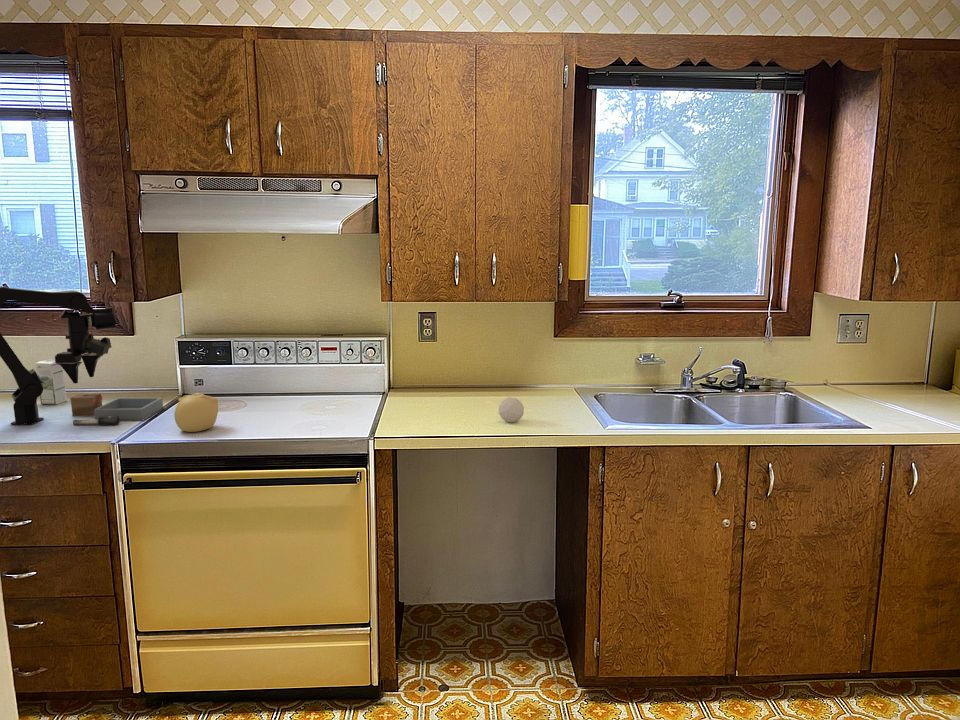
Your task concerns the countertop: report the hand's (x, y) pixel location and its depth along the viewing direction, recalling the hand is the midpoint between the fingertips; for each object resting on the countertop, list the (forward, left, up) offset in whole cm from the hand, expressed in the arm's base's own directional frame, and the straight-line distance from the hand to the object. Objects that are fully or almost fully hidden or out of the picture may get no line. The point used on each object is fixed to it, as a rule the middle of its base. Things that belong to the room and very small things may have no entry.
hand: (83, 380), depth 222 cm
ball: (-11, -135, -11) cm, 136 cm away
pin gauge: (-13, -10, -11) cm, 19 cm away
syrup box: (+14, +19, -11) cm, 26 cm away
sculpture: (-18, -42, -11) cm, 47 cm away
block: (0, 0, -11) cm, 11 cm away
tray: (-1, -14, -11) cm, 18 cm away
